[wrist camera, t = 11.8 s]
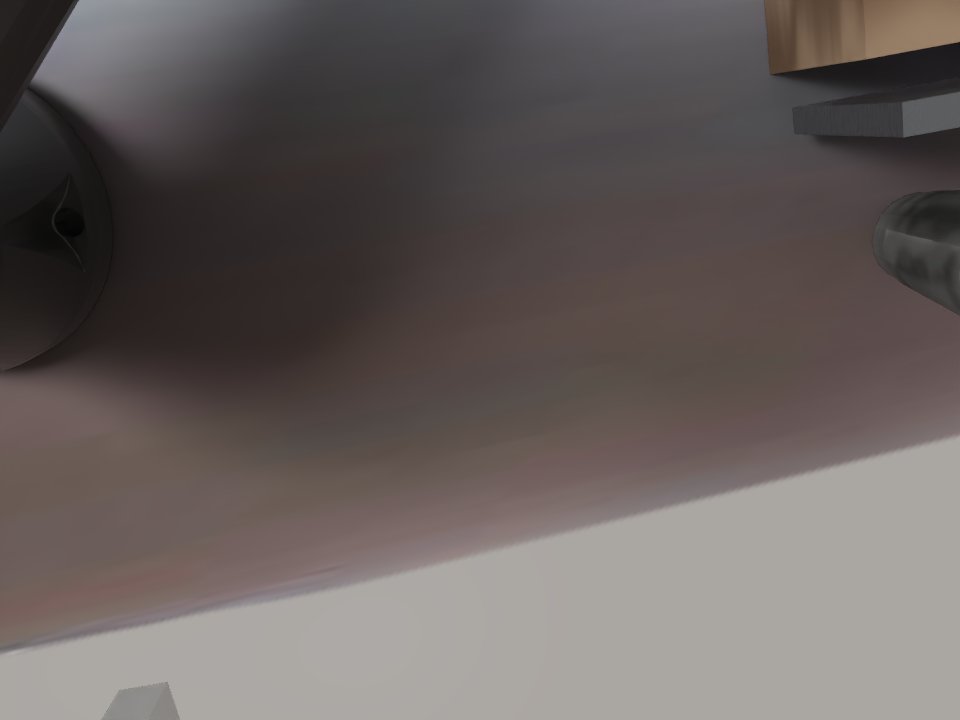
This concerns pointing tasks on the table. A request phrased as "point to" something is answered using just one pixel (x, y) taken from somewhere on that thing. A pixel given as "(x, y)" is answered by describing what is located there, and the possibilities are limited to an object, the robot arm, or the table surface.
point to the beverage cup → (923, 244)
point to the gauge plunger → (885, 112)
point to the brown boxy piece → (854, 30)
